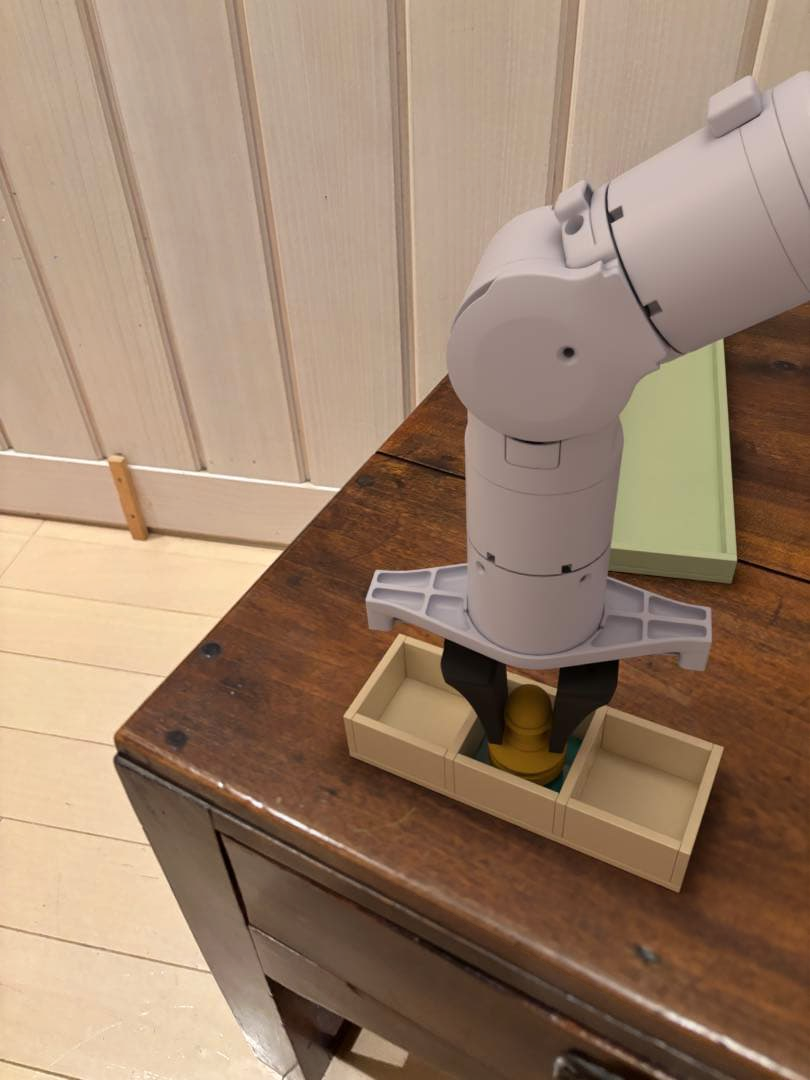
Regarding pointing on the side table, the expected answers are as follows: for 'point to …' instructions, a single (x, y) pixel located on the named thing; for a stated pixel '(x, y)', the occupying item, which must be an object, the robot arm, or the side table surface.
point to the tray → (677, 474)
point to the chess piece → (527, 737)
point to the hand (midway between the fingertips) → (528, 732)
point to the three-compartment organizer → (561, 805)
